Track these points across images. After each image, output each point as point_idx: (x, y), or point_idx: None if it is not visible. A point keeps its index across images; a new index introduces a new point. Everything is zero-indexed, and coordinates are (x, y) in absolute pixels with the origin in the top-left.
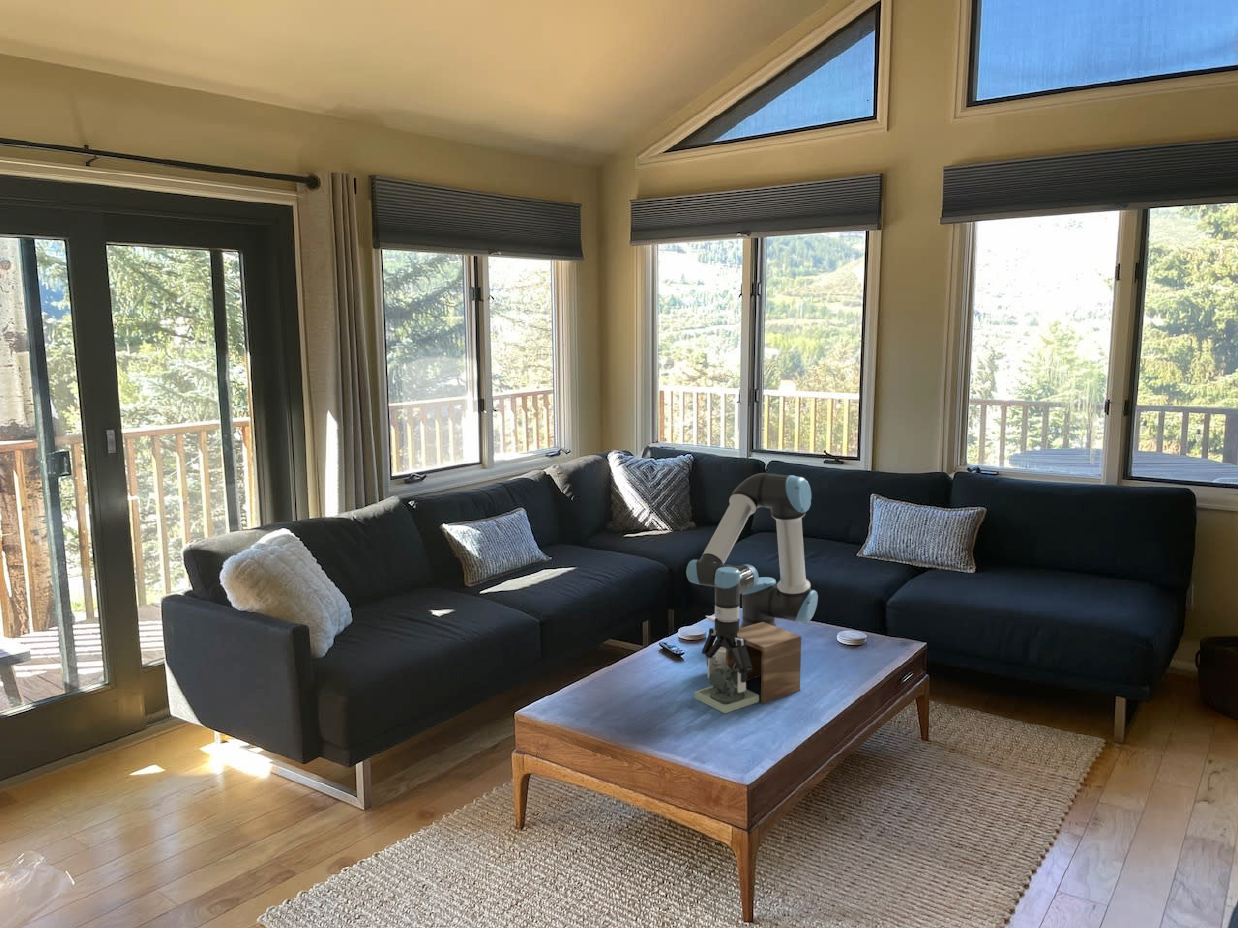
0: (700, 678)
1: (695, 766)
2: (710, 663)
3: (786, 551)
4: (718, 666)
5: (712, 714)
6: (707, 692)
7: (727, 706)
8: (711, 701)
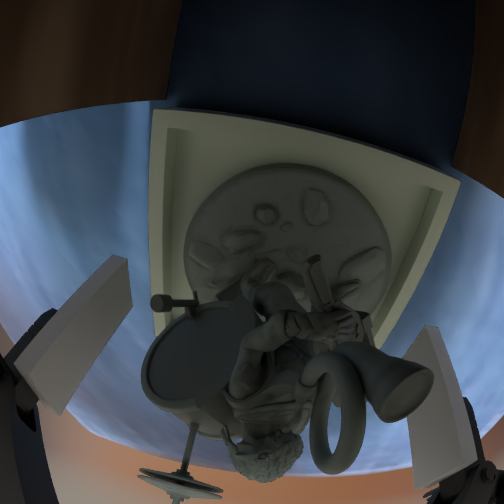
0: (39, 140)
1: (387, 470)
2: (76, 378)
3: None
4: None
5: None
6: (171, 274)
7: None
8: None
